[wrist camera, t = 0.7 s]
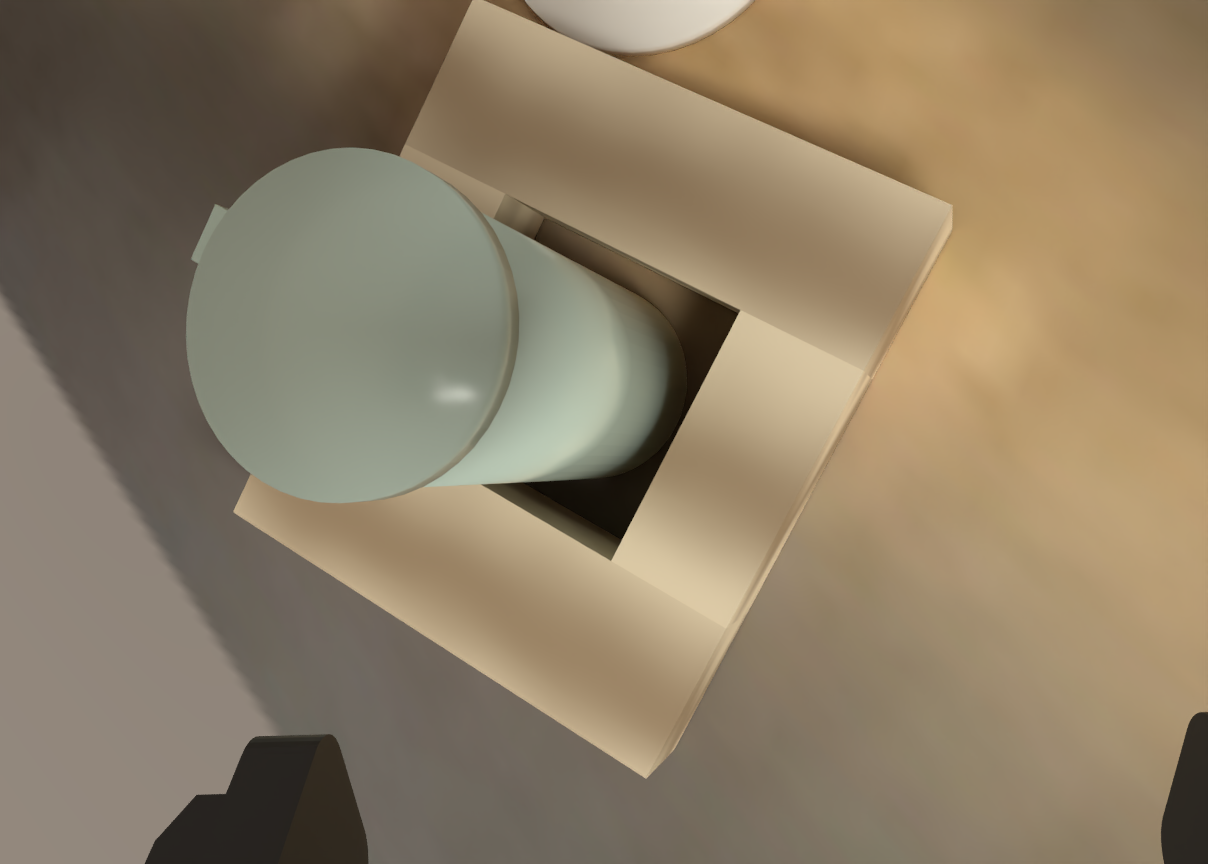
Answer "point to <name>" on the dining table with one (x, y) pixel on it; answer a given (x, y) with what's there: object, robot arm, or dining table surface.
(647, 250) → the wooden square frame
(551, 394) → the mint green tumbler
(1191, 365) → the dining table surface
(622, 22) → the saucer
